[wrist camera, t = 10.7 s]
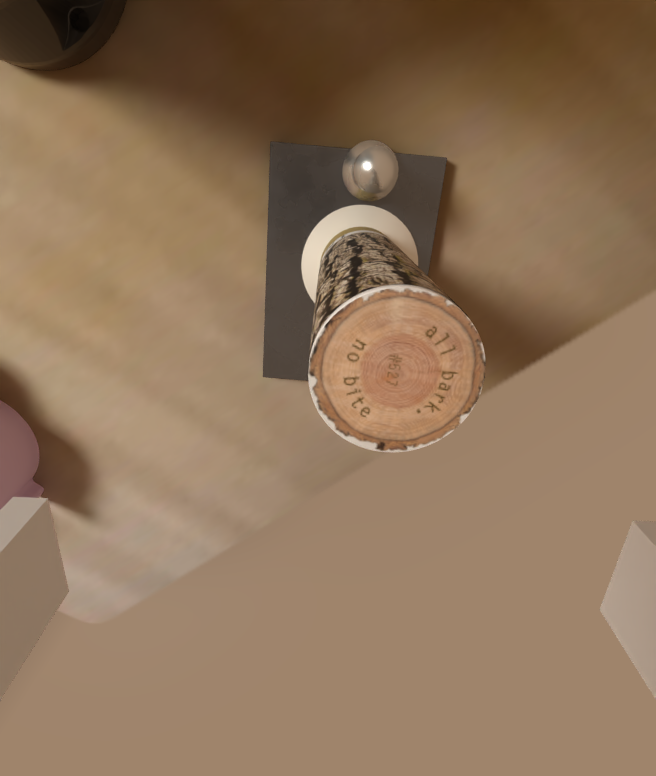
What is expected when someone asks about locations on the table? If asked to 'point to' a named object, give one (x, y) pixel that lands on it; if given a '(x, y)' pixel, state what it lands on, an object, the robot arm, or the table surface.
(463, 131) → the table surface
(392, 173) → the collar post
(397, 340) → the paper tube
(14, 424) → the clip
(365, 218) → the white dome cap
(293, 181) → the plate
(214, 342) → the table surface
